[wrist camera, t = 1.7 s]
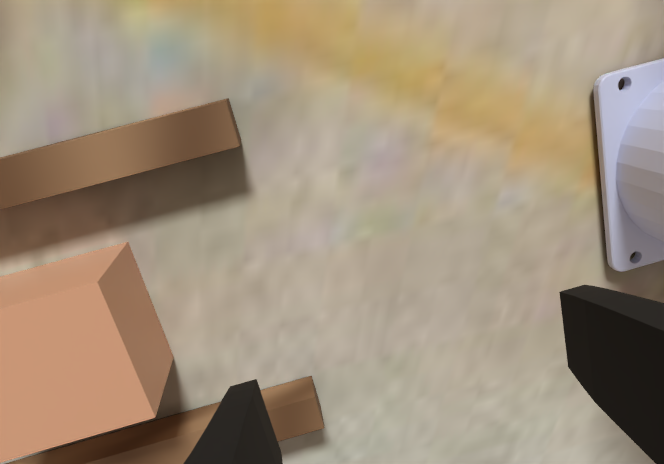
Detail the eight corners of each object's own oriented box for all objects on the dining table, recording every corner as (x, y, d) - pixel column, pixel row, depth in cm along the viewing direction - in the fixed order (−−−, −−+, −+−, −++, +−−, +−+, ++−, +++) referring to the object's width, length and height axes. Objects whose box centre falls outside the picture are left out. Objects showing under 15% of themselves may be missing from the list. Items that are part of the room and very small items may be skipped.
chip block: (128, 240, 20) (97, 282, 16) (174, 354, 21) (155, 417, 17) (-33, 284, 19) (-104, 337, 16) (25, 397, 21) (-27, 470, 17)
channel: (228, 98, 18) (225, 100, 17) (320, 405, 23) (324, 428, 21) (-180, 204, 18) (-218, 216, 16) (-9, 500, 22) (-28, 531, 20)
